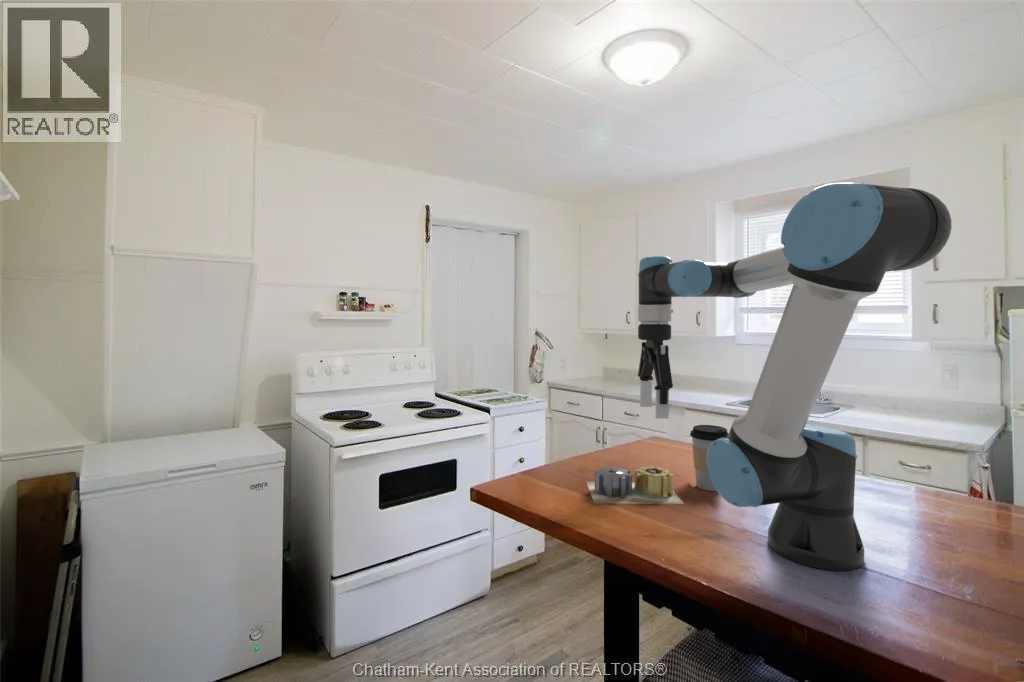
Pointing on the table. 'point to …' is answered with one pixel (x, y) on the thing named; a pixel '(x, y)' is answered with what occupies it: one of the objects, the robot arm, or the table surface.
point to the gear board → (633, 496)
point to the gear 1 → (613, 482)
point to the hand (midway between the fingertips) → (653, 412)
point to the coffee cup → (704, 452)
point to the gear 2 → (654, 482)
